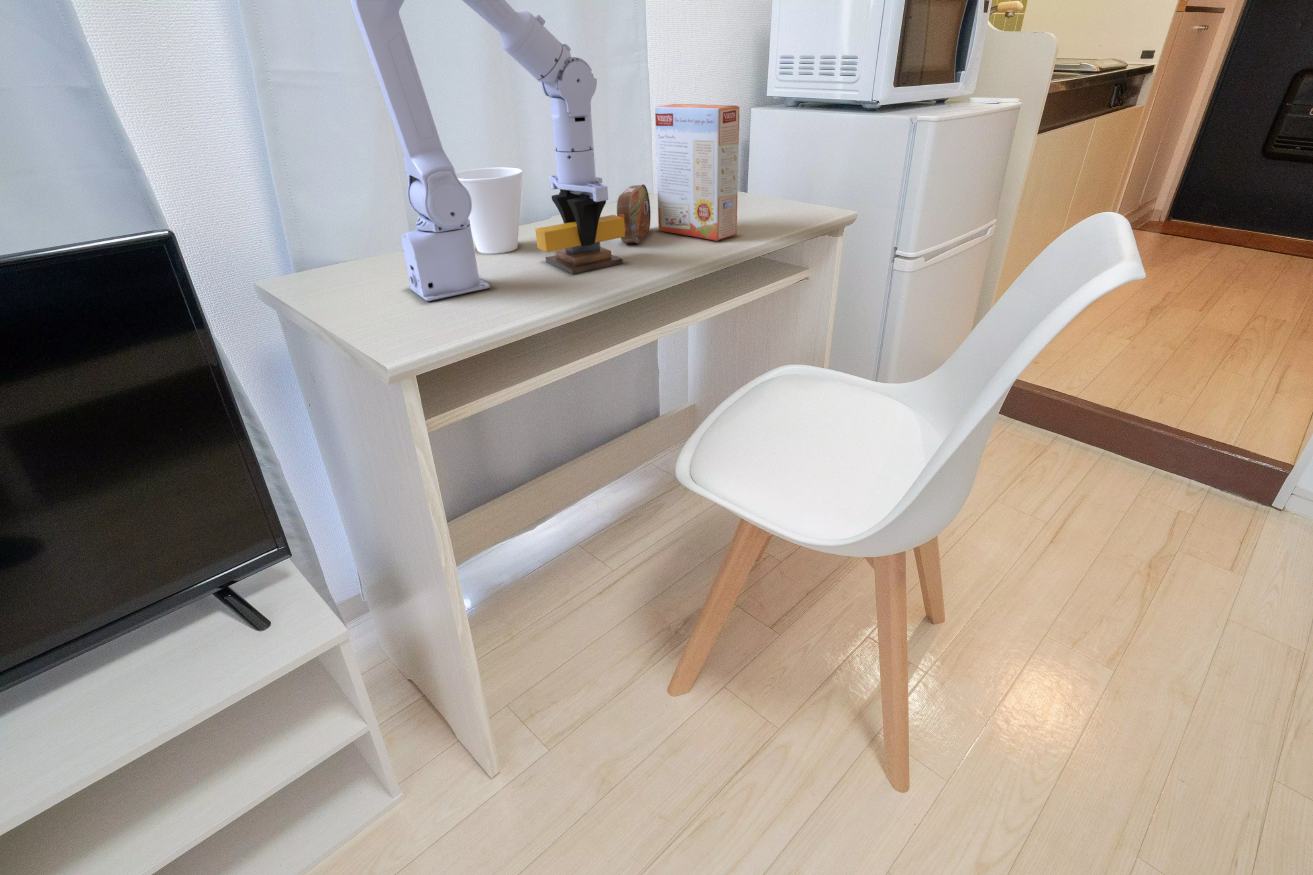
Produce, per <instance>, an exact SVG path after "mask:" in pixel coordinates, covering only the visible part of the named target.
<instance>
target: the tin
mask: <svg viewBox="0 0 1313 875" xmlns="http://www.w3.org/2000/svg"><path fill="white" fill-rule="evenodd" d="M616 201H617V202H616V216H619V217H623V218H624V227H625V237H621V238H620V240H621V241H622V243H624V244H640V243H641V241H642V240H643V239H644V238H645V236H646V235H647V234H648V233H649V232H650V228H651V219H652V218H651V201H650V196H649V191H648V188H647V186H646V185H645V184H639V185H638V184H637V185H636V184H635V185H631V186H629V187H628V188H627V189H626V190H624V191H623V192H622V193H621V194H620V195H619V196H618V199H617V200H616Z"/></svg>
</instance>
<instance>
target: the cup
mask: <svg viewBox="0 0 1313 875" xmlns="http://www.w3.org/2000/svg"><path fill="white" fill-rule="evenodd" d="M455 173H456V176H457V178H458V180H459V181H460V182H461V184H462V185H463V186H464V187H465V188H466V189H467V190H468V192H469V194H470V197H471V201H472V209H471V213H470V215H469V217H468V219H469V220H470V226H471V232H472V238H473V243H474V246H475V248H476V249H477V252H479V253H480V254H487V255H492V254H496V255H497V254H504V253H510V252H513V251H515V250H517V249H518V245H519V243H518V242H519V230H520V228H519V227H520V214H521V201H522V200H521V198H522V184H523V174H524V171H523V169H521V168H516V167H507V166H506V167H505V166H498V167H497V166H495V167H479V168H471V169H465V170H460V171H455Z"/></svg>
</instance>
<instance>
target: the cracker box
mask: <svg viewBox="0 0 1313 875" xmlns="http://www.w3.org/2000/svg"><path fill="white" fill-rule="evenodd" d="M654 108H655V109H654V115H655V120H654V122H655V143H656V144H655V147H656V149H655V150H656V178H657V179H656V183H657V185H656V188H657V222H658V231H660V232H664V233H672V234H677V235H682V236H689V237H693V238H699V239H704V240H709V241H714V242H717V241H721V240H724V239H728V238H732V237H734V236H737V233H738V232H737V230H738V193H739V191H738V190H739V154H740V153H739V146H740V105H736V104H735V105H727V104H726V105H725V104H724V105H723V104H722V105H721V104H701V103H698V104H697V103H671V104H664V105H657V106H655V107H654Z"/></svg>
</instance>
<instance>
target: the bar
mask: <svg viewBox="0 0 1313 875" xmlns="http://www.w3.org/2000/svg"><path fill="white" fill-rule="evenodd" d="M621 237H625V227H624V218H623V217H619V216H617V214H609V215H604V216H600V218H599V222H598V227H597V233H596V239H595V243H596V242H600V243H601V242H606V241H610V240H611V241H612V240H615V239H621ZM535 238H536V247H537V249H539V250H541V251H543V252H546V253H550V252H555V251H556V250H561V249H566V248H571V247H576V246H581V242H580V239H579V235H578V229H577V224H576V221H575V222H570V223H564V222H563V223H559V224H554V225H549V226H543V227H537V228H535Z"/></svg>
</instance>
